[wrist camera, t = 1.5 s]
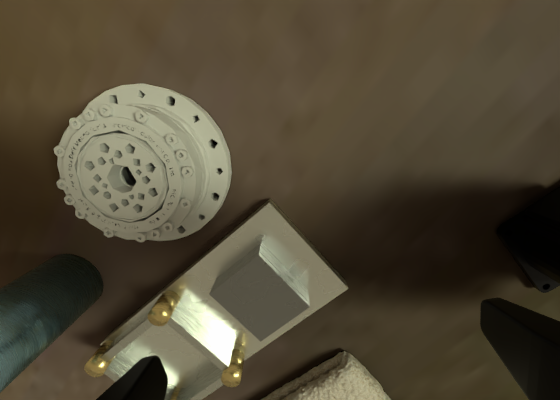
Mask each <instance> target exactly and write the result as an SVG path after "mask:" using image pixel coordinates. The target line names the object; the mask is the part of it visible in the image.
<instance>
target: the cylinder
mask: <svg viewBox="0 0 560 400" xmlns="http://www.w3.org/2000/svg"><path fill="white" fill-rule="evenodd" d="M102 291H103V281H102V278H101V275H100V273H99V272H98V270H97V269H96V268H95V267H94V266H93V265H92V264H91V263H90V262H89V261H87V260H85V259H84V258H81V257H79V256H76V255H71V254H62V255H57V256H55V257H53V258H51V259H50V260H48V261H46V262H45V263H43V264H41V265H39V266H38V267H36V268H34V269H33V270H31V271H29V272H28V273H26V274H24V275H23V276H21V277H19V278H18V279H16V280H14V281H13V282H11V283H9V284H7V285H6V286H4V287H2V288H1V289H0V392H1V391H3V390H4V389H5V388H6V387H7V386H8V385H9V384H10V383H11V382H12V381H13V380H14V379H15V378H16V377H17V376H18V375H19V374H20V373H21V372H22V371H23V370H25V369H26V368H27V367H28V366H29V365H30V364H31V363H32V362H33V361H34V360H35V359H36V358H37V357H38V356H39V355H40V354H41V353H42V352H43V351H44V350H45V349H46V348H48V347H49V346H50V345H51V344H52V343H53V342H54V341H55V340H56V339H57V338H58V337H59V336H60V335H61V334H62V333H63V332H64V331H65V330H66V329H67V328H68V327H69V326H71V325H72V324H73V323H74V322H75V321H76V320H77V319H78V318H79V317H80V316H81V315H82V314H83V313H84V312H85V311H86V310H87V309H88V308H89V307H90V306H91V305H93V304H94V303H95V302H96V301H97V300H98V299H99V297H100V296H101V294H102Z"/></svg>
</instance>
